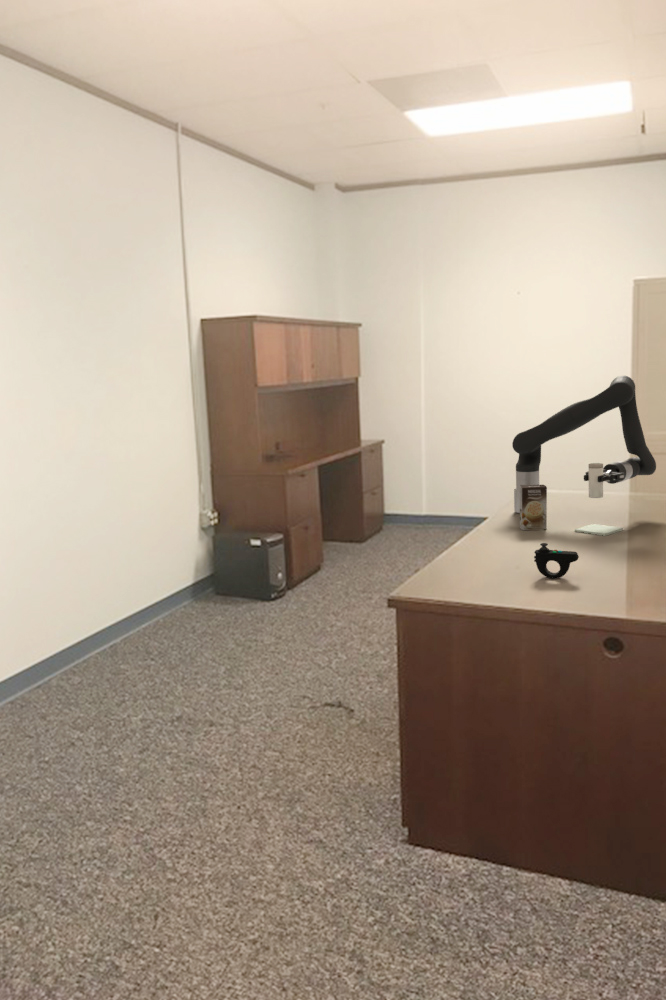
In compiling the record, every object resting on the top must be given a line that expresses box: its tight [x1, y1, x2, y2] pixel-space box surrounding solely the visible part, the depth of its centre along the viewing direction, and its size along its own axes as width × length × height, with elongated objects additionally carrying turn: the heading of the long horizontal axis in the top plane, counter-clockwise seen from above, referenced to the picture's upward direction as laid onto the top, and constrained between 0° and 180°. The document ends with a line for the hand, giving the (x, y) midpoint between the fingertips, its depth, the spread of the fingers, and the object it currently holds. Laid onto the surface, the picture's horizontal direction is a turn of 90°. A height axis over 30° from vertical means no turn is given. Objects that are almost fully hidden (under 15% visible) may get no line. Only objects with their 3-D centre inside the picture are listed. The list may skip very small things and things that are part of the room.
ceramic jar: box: [588, 462, 604, 499], centre depth 287 cm, size 5×5×12 cm
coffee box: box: [519, 484, 548, 531], centre depth 294 cm, size 9×6×16 cm
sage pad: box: [574, 523, 624, 537], centre depth 285 cm, size 12×12×1 cm
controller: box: [533, 542, 580, 580], centre depth 228 cm, size 4×12×10 cm, turn 65°
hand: (591, 478), depth 285 cm, fingers closed on ceramic jar, 5 cm apart
